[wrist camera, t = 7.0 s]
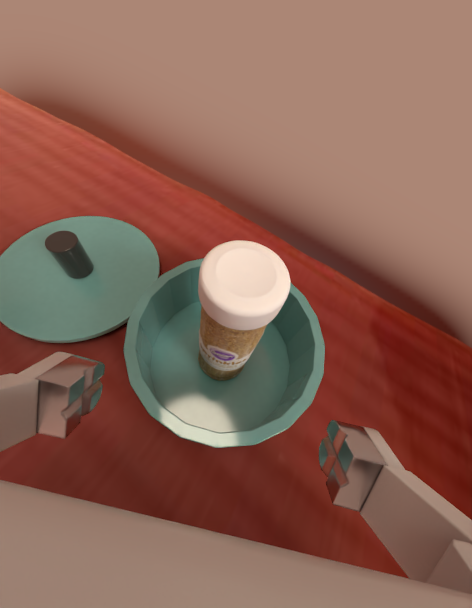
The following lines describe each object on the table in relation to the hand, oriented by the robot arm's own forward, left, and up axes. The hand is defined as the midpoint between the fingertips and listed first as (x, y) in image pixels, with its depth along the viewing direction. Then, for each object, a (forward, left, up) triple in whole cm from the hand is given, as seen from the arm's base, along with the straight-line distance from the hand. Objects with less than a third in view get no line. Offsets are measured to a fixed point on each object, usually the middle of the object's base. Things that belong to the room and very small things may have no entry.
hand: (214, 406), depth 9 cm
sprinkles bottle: (-4, +5, -14) cm, 15 cm away
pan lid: (-20, -1, -13) cm, 24 cm away
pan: (-4, +5, -14) cm, 15 cm away
